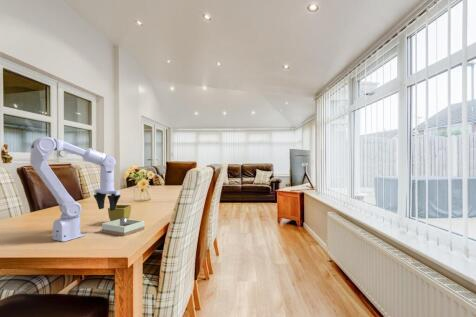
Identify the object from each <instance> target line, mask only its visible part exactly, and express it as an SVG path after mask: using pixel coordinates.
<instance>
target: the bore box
mask: <svg viewBox="0 0 476 317" xmlns="http://www.w3.org/2000/svg"><path fill="white" fill-rule="evenodd" d="M144 230H145V220H138V219H134V218H133V219H131V218H129V219H127V226H120V219H118V220H114V221H110V220H109V221H107V222H103V223H101V233H103V234H108V235H109V234H111V235H115V236H121V237H126V236H129V235H132V234H135V233H138V232H140V231H141V232H142V231H144Z"/></svg>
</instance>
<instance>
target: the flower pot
mask: <svg viewBox="0 0 476 317" xmlns="http://www.w3.org/2000/svg"><path fill="white" fill-rule="evenodd" d="M131 212H132V204H116V208H115V210H112V211H110V206H109V207H107V214H108V219H109V222H110V221H114V220H118V219H120V218H123V217H126V218H127V219H130V216H131Z"/></svg>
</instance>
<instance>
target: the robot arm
mask: <svg viewBox="0 0 476 317" xmlns="http://www.w3.org/2000/svg"><path fill="white" fill-rule="evenodd" d="M53 151H63V152H66V153H71V154H74V155H77V156H80V157H82V160H83V161H85V162H88V163H92V164H94V165H98V166H99V167H100V171H99V175H100V176H99V177H100V178H99V184H100V186H99V188H95V189H94V194H93V198H94V199H95V201H96V204H97V207H98V209H99V210H103V209H104V208H105V200H106V197H107V199H108V202H109V207H110V211H112V210H115V208H116V205H118V202H119V199H120V198H121V190H118V189H116V188H114V187H115V181H114V180H115V170H114V169H115V166H116V164H117V160H116V159H115V158H114V156H112V155H108V154H106V153H105V152H101V151H98V150H96V148H94V147H93V148H87V149H84V148H81V147H79V146H77V145H74V144H72V143H69V142H67V141H65V140H61V139H57V138H53V137H51V136H50V137H49V136H42V137H38V138H36V139H34V140H33V142H32V143H31V145H30V158H29V163H30V165H31V167H32V168H33V170H34V171H35V173H36V174H37V175H38V176H39V178H40V179H41V180H42V182H43V183H44V185H45V187H46V188H47V189H48V190H49V192H50V193H51V195H53V197H54V199H55V200H56V203H57V204H58V207H59V211H60V212H61V214H60V217H59V218H57V219H56V220H54V221H53V224H52V237H51V240H54V241H57V242H62V243H63V242H68V241H70V240H75V239H79V238H81V237H85V236H86V235H85V234H83V233H81V213H82V210H83V207H82V205H81V203H79V202H77V201H76V200H75V199H74V198H73V197H72V196H71V195H70V194H69V192H68V191H67V190H66V188H65V186H64V185H63V183H61V181H60V179H59V178H58V177H57V175H56V174H55V173H54V171H53V170H52V168H51V167H50V165H49V164H48V159H49V157H50V155H51V154H52V153H53Z"/></svg>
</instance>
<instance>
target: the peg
mask: <svg viewBox="0 0 476 317" xmlns="http://www.w3.org/2000/svg"><path fill="white" fill-rule="evenodd" d="M120 226H127V218H126V217H123V218H120Z"/></svg>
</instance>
